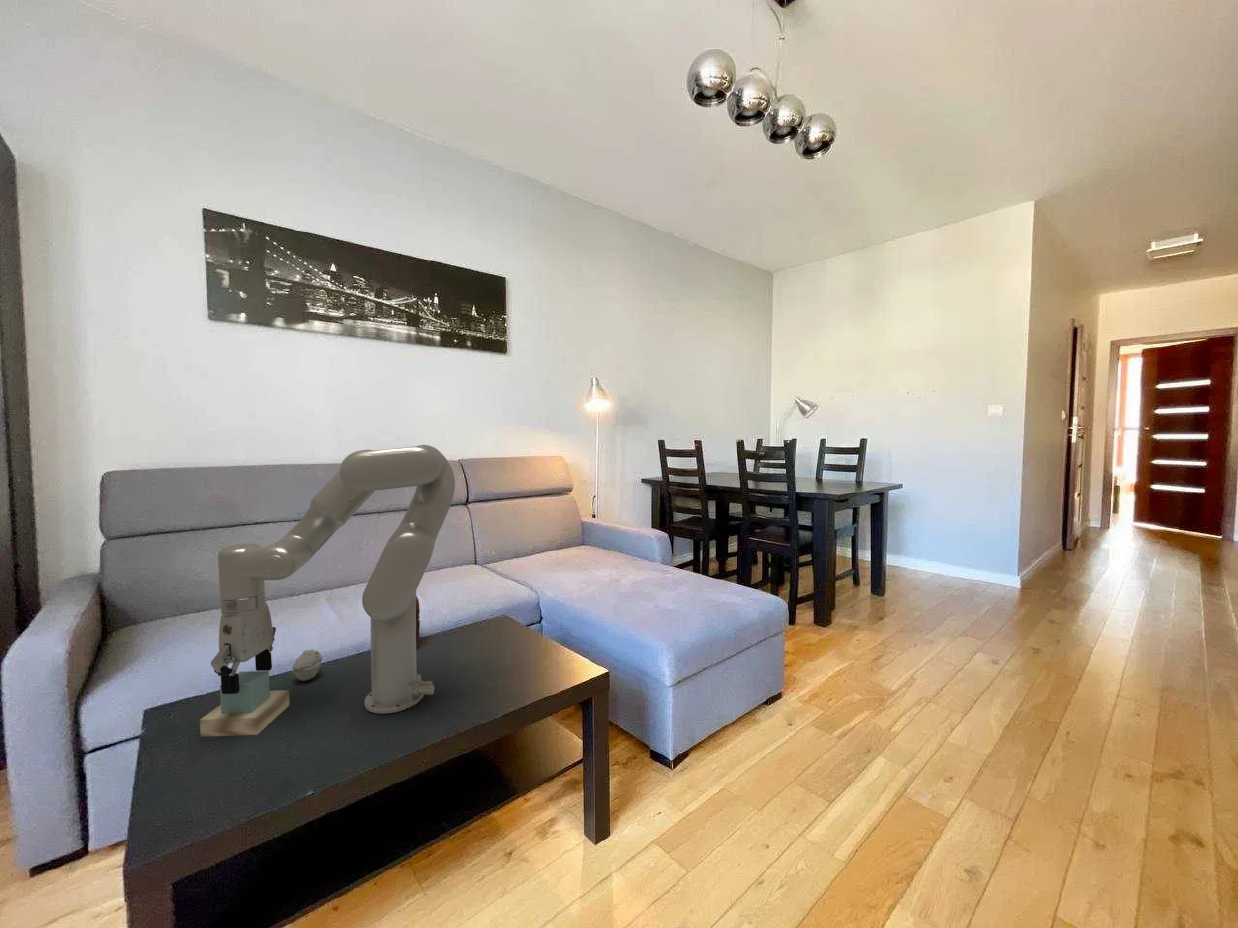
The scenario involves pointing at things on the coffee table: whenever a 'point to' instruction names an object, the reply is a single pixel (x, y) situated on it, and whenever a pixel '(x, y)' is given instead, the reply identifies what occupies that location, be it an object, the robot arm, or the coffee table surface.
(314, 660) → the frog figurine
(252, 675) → the teal cube
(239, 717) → the birch block
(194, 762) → the coffee table surface
